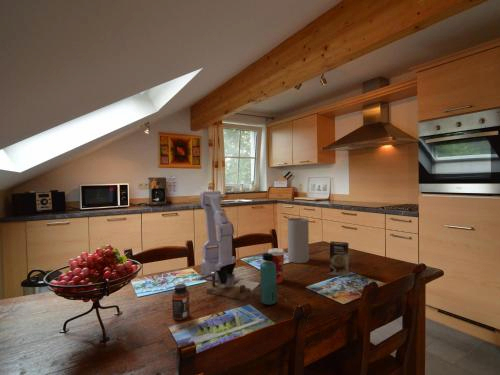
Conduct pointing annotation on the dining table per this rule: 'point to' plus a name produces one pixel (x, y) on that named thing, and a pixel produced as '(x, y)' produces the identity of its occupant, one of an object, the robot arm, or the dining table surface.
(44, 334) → the dining table surface
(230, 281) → the lever cap
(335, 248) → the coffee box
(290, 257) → the cylinder vase
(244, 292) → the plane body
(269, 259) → the beverage bottle
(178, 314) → the supplement bottle
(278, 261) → the coffee cup
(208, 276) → the latch bar
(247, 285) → the rubber pad
